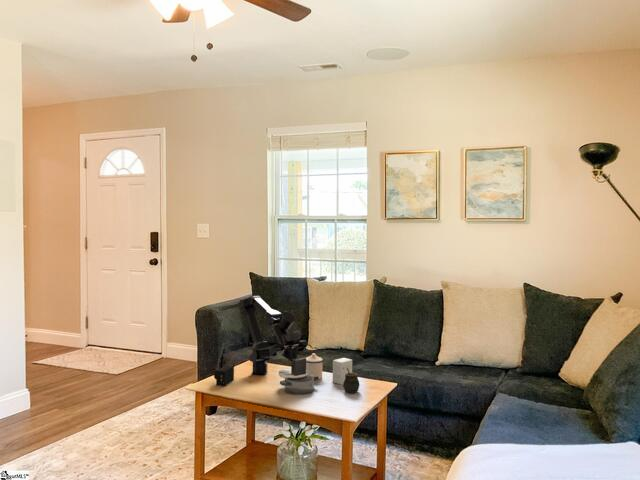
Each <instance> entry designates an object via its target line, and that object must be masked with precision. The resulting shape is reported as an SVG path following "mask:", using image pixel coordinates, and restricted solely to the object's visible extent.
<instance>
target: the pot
mask: <svg viewBox="0 0 640 480" xmlns="http://www.w3.org/2000/svg"><path fill="white" fill-rule="evenodd" d="M318 377H319V376H316V375H308V376H307V377H305V378H301V379H286V378H284V379H283V380H280V381H279V385H281V386H284V392H285V393H287V394H290V395H296V396H297V395H298V396H299V395H303V396H304V395H308V394H312V393H313V392H314V391H315V381H317V380H316V379H318Z"/></svg>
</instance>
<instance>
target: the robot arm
mask: <svg viewBox="0 0 640 480" xmlns="http://www.w3.org/2000/svg"><path fill="white" fill-rule="evenodd" d="M237 306H238V308H239V311H240V313H241V314H242V315H243V317H245V320H246V323H247V327H248V329H249V332H250V336H251V339H252V342H253V345H252V348H251V349H252V351H251V354H250V355H249V357H248V358H249V362H250V363H252V372H251V375H255V376H257V375H258V376H265V375H266V374H267V373H268V362H269V361H270V359H271V357H277V355H278V353H279V352H281V357H284V358H285V359H287V360H288V361H290V362H291V359H295V358H298V353H302V352H304V351H305V350H306V348H307V347H308V346H309V343H308V341H307V340H300V339H301V337H302V333H301V331H300V330H295V331H294V332H290V333H289V332H288V330H289V329H290V328H291V326H292V325H293V324H294V323H295V320H296V318H295V316H294V315H293V314H292V313H290V312H288V310H285V311H284V310H283V312H282V313H281V312H280V311H279V310H278V309H277V310H276V309H273V308H271V307H270V305H269V304H267V303H266V302H265V301H264V300H263V299H262V297H261V296H260V295H252V296H249V297H248V298H245V299H243V298H242V299H240V300H239V302H238V303H237ZM257 310H258V311H259V312H260V313H261V315H263V316H264V321H265V323H267V324H266V325H268V326H273V327H272V328H271V334H274V335H275V337H276V339H277V340H276V343H277V344H273V345H272V346H270V343H269V341H266V340H264V338H263V335H262V332H261V328H260V325H259V322H258V319H257V316H256V312H257ZM297 340H299V341H297ZM296 341H297V342H296ZM267 361H268V362H267Z"/></svg>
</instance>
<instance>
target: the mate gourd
mask: <svg viewBox="0 0 640 480" xmlns="http://www.w3.org/2000/svg"><path fill="white" fill-rule="evenodd" d="M347 370H348V368H347ZM342 386H343V390H344V391H345V393H347V394H355V393H357V392H358V391H359V389H360V381H359V379H358V373H356V372H352V373H350V372H349V370H348V373H346V374H345V381H344V383H343V384H342Z"/></svg>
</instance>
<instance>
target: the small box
mask: <svg viewBox="0 0 640 480" xmlns="http://www.w3.org/2000/svg"><path fill="white" fill-rule="evenodd" d="M347 368H348V370H349V372H350V373H353V359H350V358H347V357H342V358H337V359H334V360H332V383H334V384H337V385H341V386H342V385H343V383H344V381H345V374H346V373H348V370H347Z"/></svg>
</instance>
